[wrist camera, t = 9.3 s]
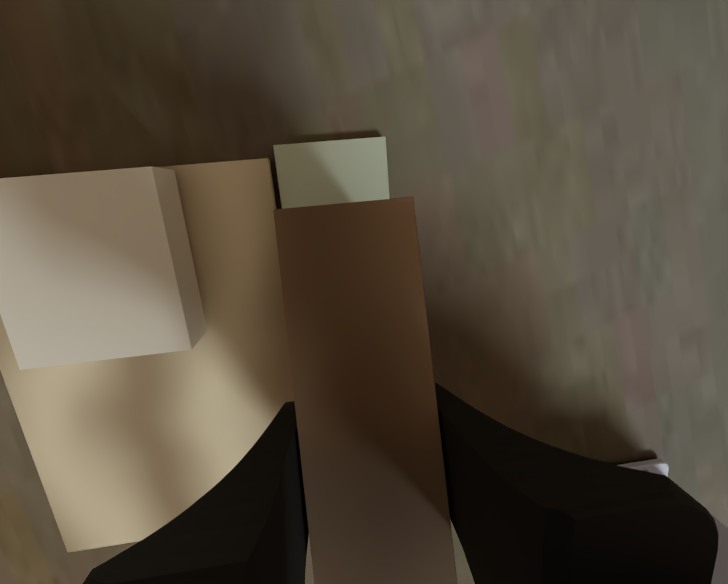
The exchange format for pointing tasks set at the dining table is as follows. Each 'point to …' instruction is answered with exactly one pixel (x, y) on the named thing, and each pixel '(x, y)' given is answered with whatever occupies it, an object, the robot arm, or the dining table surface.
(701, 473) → the dining table surface
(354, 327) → the bar
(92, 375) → the board
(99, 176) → the tile
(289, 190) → the pad
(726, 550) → the robot arm
